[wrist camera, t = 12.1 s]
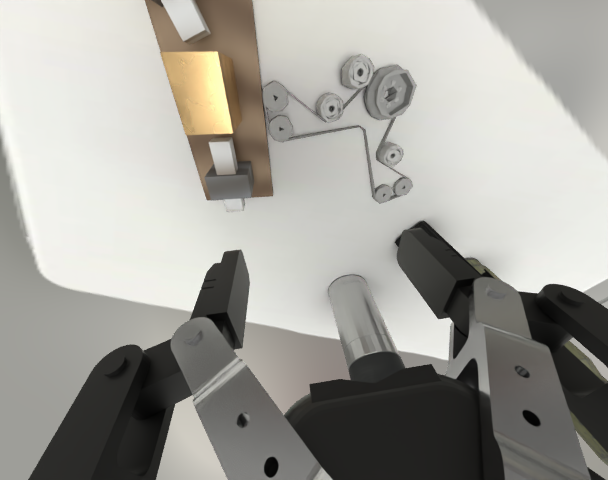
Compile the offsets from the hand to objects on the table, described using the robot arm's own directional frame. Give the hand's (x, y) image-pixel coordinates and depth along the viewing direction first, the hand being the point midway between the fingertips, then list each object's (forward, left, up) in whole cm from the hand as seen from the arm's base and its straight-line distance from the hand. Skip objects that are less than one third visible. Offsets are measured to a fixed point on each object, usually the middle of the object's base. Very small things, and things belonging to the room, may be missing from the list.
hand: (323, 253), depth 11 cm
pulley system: (+1, -10, -26) cm, 28 cm away
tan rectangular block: (+6, +8, -24) cm, 26 cm away
